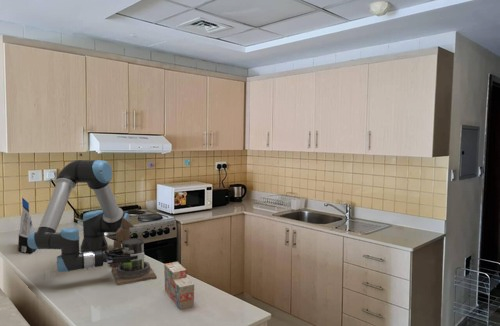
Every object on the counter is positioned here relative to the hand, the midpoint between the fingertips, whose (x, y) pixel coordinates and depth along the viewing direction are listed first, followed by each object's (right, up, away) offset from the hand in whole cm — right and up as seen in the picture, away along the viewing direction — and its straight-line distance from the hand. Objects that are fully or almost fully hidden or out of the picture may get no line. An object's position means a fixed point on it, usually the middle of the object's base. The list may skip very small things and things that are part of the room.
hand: (142, 252), depth 184 cm
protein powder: (-80, -8, +38) cm, 89 cm away
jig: (-4, -11, -1) cm, 11 cm away
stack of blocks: (+23, -13, -27) cm, 38 cm away
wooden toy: (-13, -10, +14) cm, 22 cm away
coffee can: (-4, -8, -1) cm, 9 cm away
